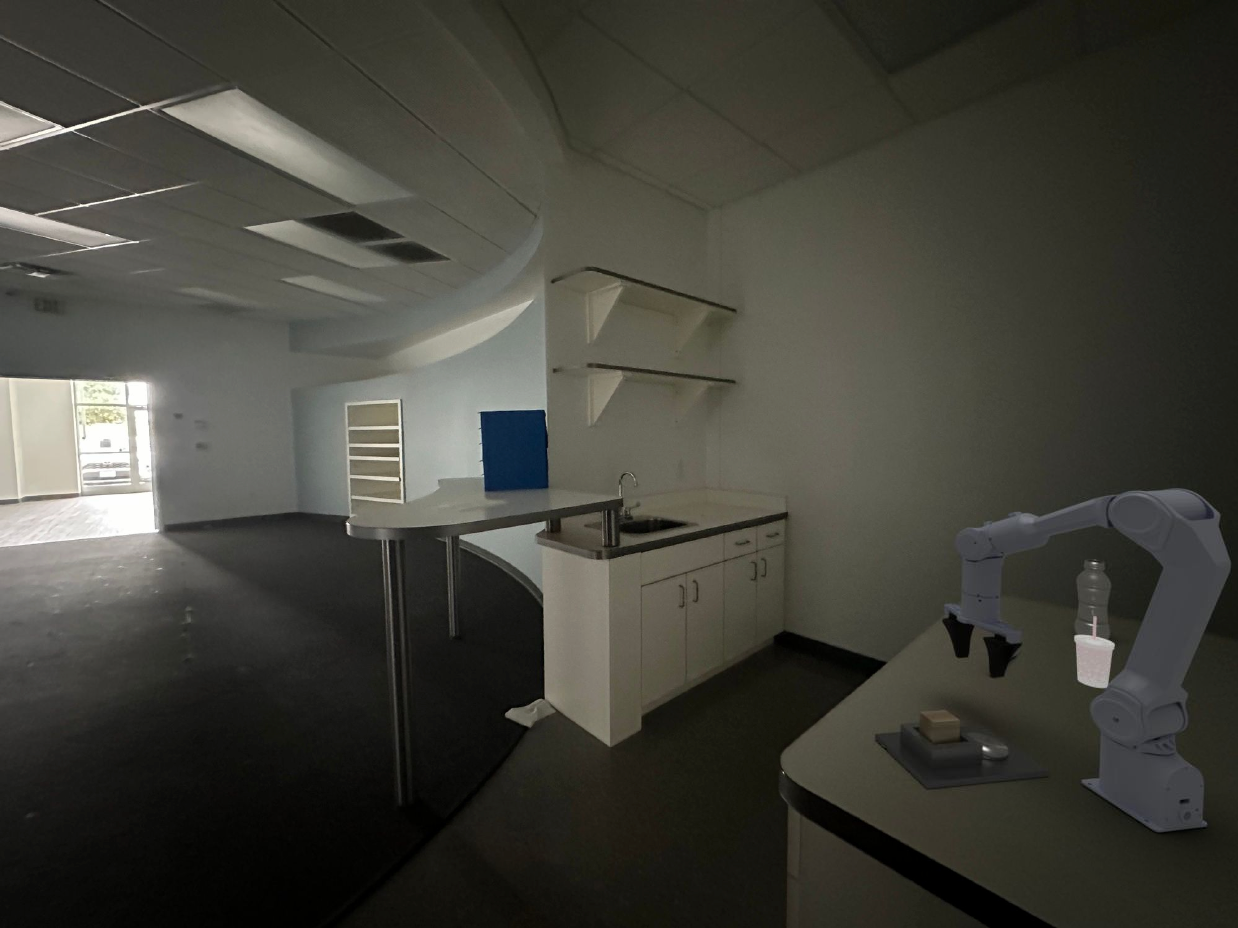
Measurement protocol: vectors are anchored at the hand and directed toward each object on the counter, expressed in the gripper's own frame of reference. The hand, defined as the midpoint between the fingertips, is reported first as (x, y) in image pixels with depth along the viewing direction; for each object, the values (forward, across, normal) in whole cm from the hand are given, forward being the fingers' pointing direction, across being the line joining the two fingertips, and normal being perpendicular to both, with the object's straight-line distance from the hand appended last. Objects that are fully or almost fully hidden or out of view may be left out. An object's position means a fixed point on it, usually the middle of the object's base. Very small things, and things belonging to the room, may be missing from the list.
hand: (978, 666), depth 91 cm
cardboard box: (+8, +10, -16) cm, 21 cm away
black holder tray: (+9, +10, -13) cm, 19 cm away
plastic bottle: (+10, -27, +57) cm, 64 cm away
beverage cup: (+10, -8, +34) cm, 36 cm away
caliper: (+10, -18, +24) cm, 32 cm away
